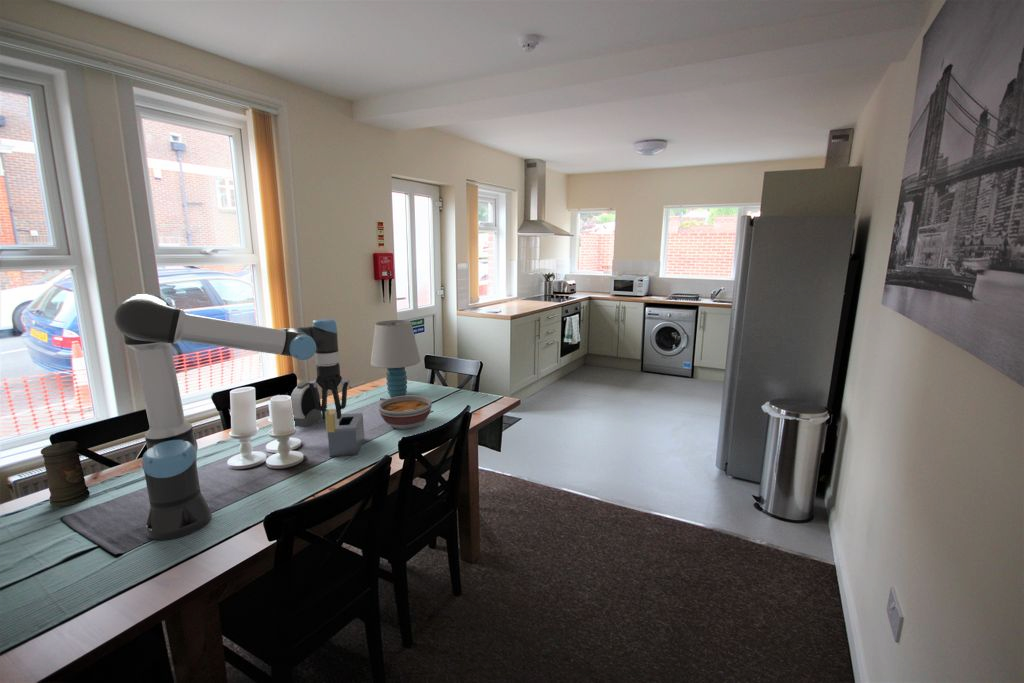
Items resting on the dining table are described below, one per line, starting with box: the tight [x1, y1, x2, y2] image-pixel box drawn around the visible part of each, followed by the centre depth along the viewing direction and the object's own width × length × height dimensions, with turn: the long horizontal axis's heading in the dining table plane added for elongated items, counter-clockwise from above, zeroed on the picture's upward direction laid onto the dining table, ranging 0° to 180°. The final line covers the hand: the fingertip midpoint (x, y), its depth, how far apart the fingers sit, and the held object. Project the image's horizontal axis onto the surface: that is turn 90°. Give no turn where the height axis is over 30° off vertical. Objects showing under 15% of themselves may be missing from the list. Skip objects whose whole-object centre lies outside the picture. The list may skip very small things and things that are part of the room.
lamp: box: [370, 319, 421, 398], centre depth 243 cm, size 25×25×39 cm
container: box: [40, 440, 91, 508], centre depth 145 cm, size 9×9×18 cm
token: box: [325, 408, 336, 433], centre depth 165 cm, size 6×2×6 cm, turn 8°
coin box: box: [327, 412, 365, 458], centre depth 182 cm, size 10×16×11 cm, turn 8°
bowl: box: [378, 394, 433, 430], centre depth 206 cm, size 23×23×10 cm
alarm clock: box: [290, 381, 323, 428], centre depth 209 cm, size 16×10×18 cm, turn 171°
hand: (332, 427), depth 166 cm, fingers closed on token, 2 cm apart
